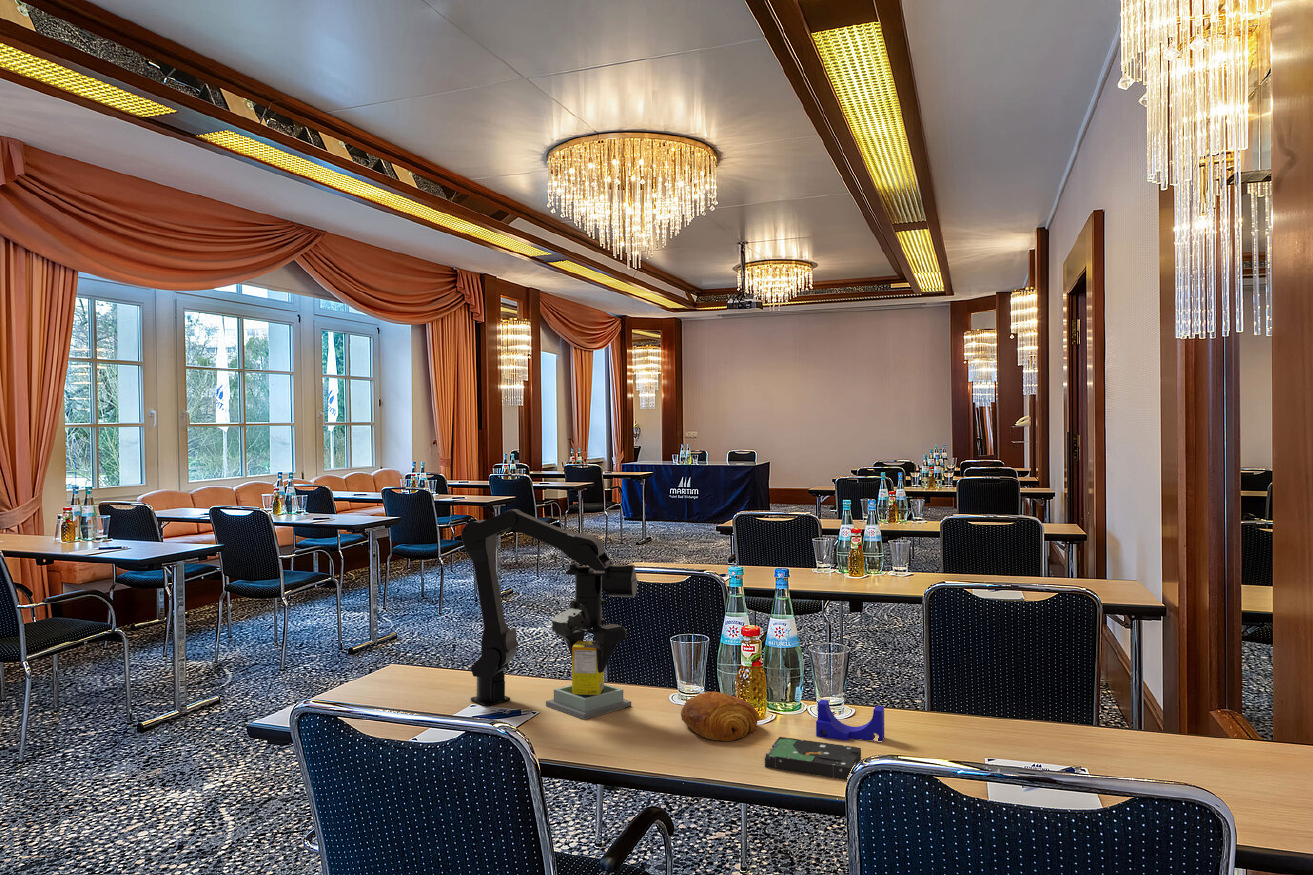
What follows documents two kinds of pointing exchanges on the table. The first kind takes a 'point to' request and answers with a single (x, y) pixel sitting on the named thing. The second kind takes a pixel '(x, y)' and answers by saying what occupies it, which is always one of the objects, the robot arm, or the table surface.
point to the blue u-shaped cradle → (836, 730)
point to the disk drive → (812, 757)
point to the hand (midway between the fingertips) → (588, 668)
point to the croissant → (719, 716)
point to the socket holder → (588, 702)
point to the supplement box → (586, 670)
